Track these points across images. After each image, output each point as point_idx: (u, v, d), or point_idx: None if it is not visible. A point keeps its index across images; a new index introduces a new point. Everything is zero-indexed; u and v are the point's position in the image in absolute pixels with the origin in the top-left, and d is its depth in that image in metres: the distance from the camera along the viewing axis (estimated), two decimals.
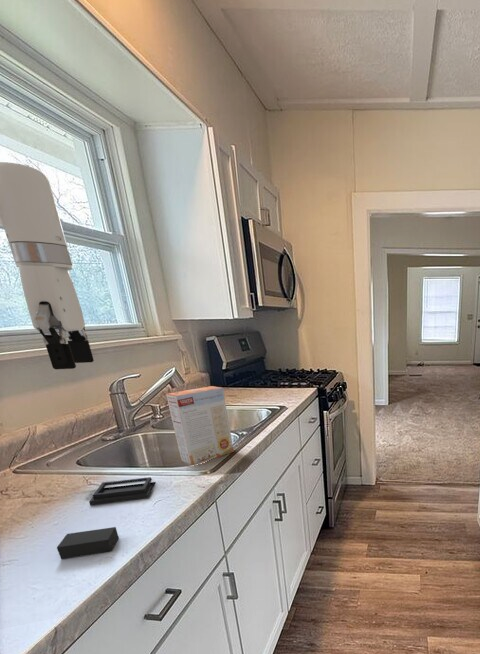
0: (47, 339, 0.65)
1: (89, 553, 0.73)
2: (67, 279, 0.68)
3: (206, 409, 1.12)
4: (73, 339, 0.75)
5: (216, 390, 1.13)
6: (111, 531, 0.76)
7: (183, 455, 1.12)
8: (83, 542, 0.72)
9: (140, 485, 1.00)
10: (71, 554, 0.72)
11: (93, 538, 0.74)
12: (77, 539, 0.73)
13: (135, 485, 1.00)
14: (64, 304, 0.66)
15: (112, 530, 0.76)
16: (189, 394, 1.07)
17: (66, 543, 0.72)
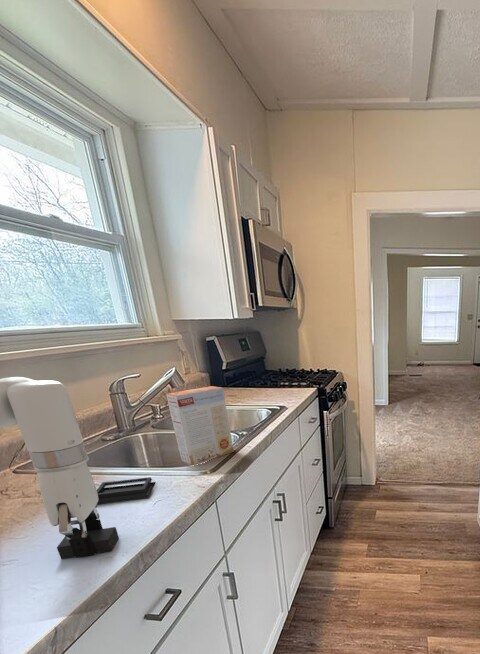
0: (70, 537, 0.69)
1: None
2: (82, 470, 0.70)
3: (206, 409, 1.12)
4: (84, 519, 0.75)
5: (216, 390, 1.13)
6: (111, 531, 0.76)
7: (183, 455, 1.12)
8: None
9: (140, 485, 1.00)
10: (71, 554, 0.72)
11: (93, 538, 0.74)
12: None
13: (135, 485, 1.00)
14: (79, 500, 0.68)
15: (112, 530, 0.76)
16: (189, 394, 1.07)
17: (66, 543, 0.72)
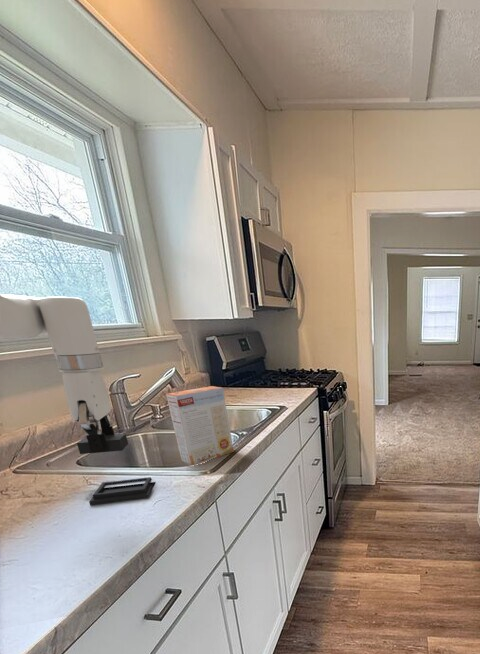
0: (88, 432, 0.83)
1: None
2: (99, 377, 0.84)
3: (206, 409, 1.12)
4: None
5: (216, 390, 1.13)
6: (122, 435, 0.89)
7: (183, 455, 1.12)
8: None
9: (140, 485, 1.00)
10: (88, 450, 0.86)
11: (107, 438, 0.87)
12: None
13: (135, 485, 1.00)
14: (96, 400, 0.82)
15: (123, 435, 0.90)
16: (189, 394, 1.07)
17: (85, 441, 0.86)
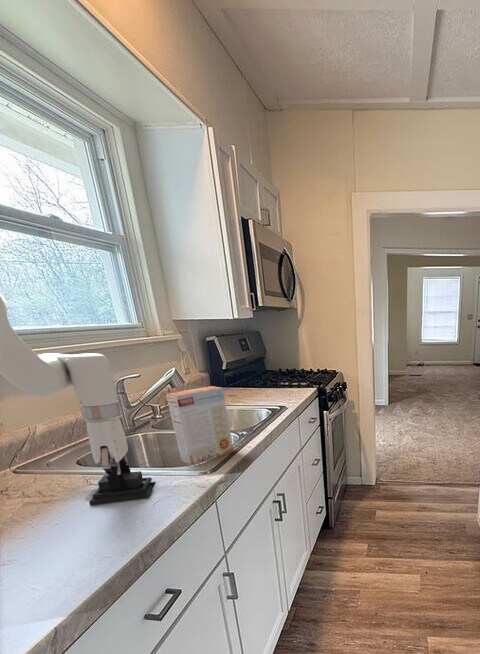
0: (108, 473, 0.91)
1: None
2: (118, 423, 0.92)
3: (206, 409, 1.12)
4: None
5: (216, 390, 1.13)
6: (138, 474, 0.98)
7: (183, 455, 1.12)
8: None
9: (140, 485, 1.00)
10: (108, 489, 0.94)
11: (125, 477, 0.96)
12: None
13: None
14: (116, 445, 0.90)
15: (139, 473, 0.98)
16: (189, 394, 1.07)
17: (105, 480, 0.94)
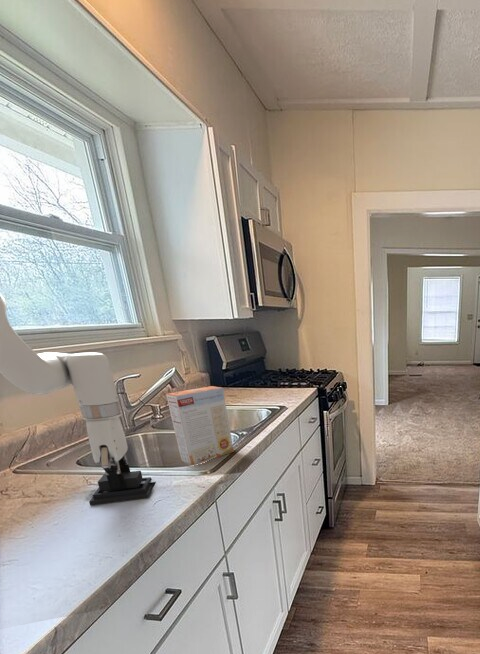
0: (108, 473, 0.91)
1: None
2: (118, 422, 0.92)
3: (206, 409, 1.12)
4: None
5: (216, 390, 1.13)
6: (138, 473, 0.98)
7: (183, 455, 1.12)
8: None
9: (140, 485, 1.00)
10: (108, 488, 0.94)
11: (124, 476, 0.96)
12: None
13: None
14: (116, 444, 0.90)
15: (138, 472, 0.98)
16: (189, 394, 1.07)
17: (104, 479, 0.94)
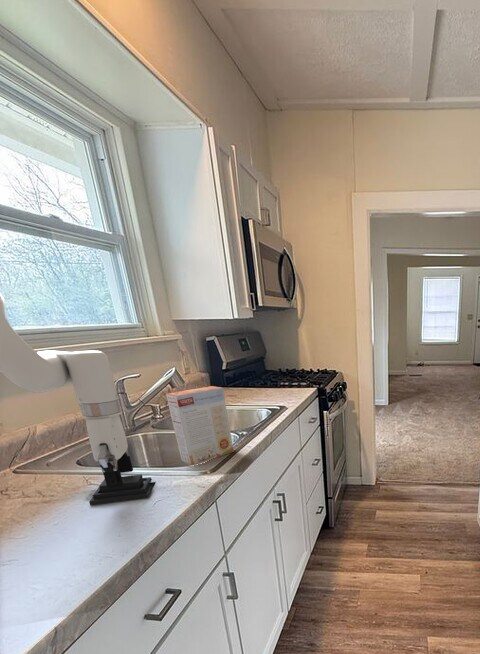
0: (105, 470, 0.89)
1: None
2: (118, 420, 0.92)
3: (206, 409, 1.12)
4: None
5: (216, 390, 1.13)
6: (139, 477, 0.98)
7: (183, 455, 1.12)
8: None
9: None
10: None
11: (125, 480, 0.96)
12: None
13: None
14: (116, 442, 0.90)
15: (139, 476, 0.99)
16: (189, 394, 1.07)
17: None
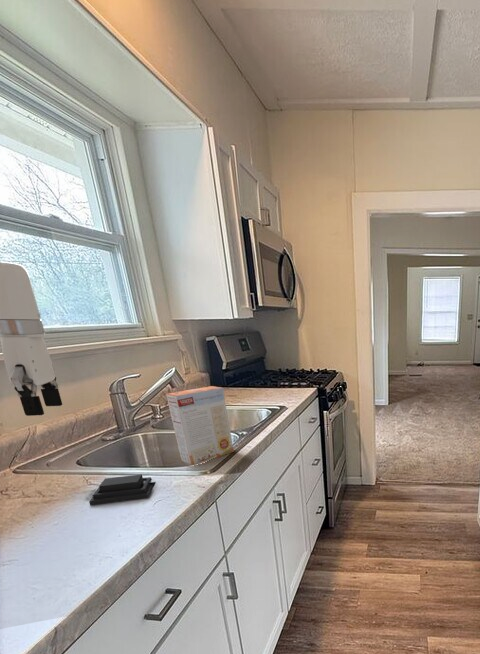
0: (20, 393, 0.82)
1: None
2: (40, 344, 0.85)
3: (206, 409, 1.12)
4: (45, 388, 0.92)
5: (216, 390, 1.13)
6: (139, 477, 0.98)
7: (183, 455, 1.12)
8: (119, 483, 0.95)
9: None
10: None
11: (125, 480, 0.96)
12: (114, 481, 0.96)
13: None
14: (35, 366, 0.83)
15: (139, 476, 0.99)
16: (189, 394, 1.07)
17: (106, 483, 0.94)
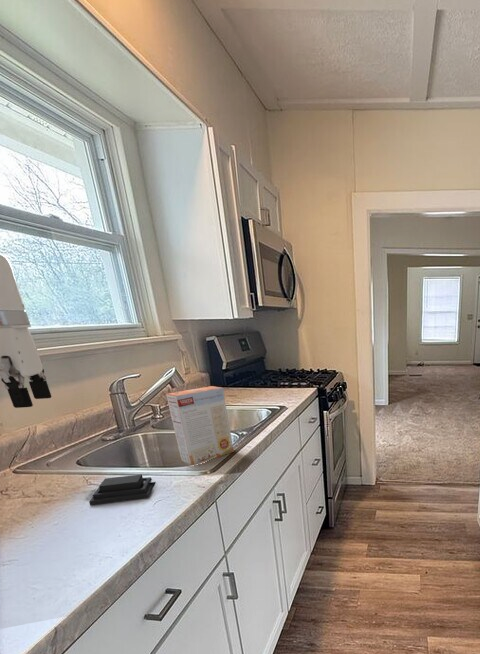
0: (8, 385, 0.82)
1: None
2: (25, 335, 0.85)
3: (206, 409, 1.12)
4: (33, 380, 0.92)
5: (216, 390, 1.13)
6: (139, 477, 0.98)
7: (183, 455, 1.12)
8: (119, 483, 0.95)
9: None
10: None
11: (125, 480, 0.96)
12: (114, 481, 0.96)
13: None
14: (22, 357, 0.83)
15: (139, 476, 0.99)
16: (189, 394, 1.07)
17: (106, 483, 0.94)
